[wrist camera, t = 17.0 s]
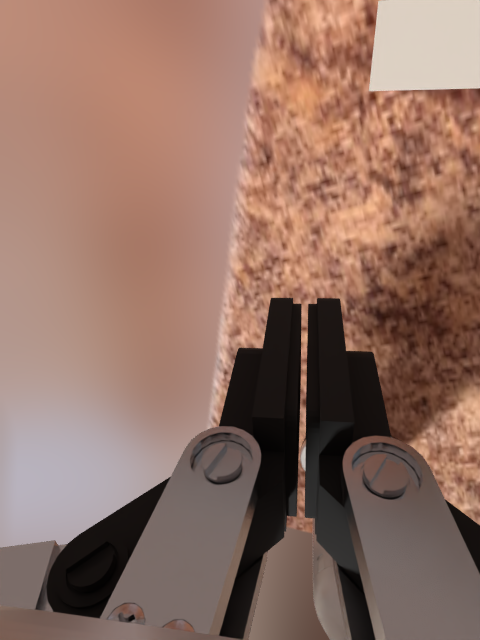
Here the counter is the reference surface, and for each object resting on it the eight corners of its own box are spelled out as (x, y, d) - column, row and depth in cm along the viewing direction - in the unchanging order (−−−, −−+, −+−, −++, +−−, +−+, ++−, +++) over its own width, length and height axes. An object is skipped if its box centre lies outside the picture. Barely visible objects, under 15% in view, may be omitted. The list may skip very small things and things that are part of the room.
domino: (381, 2, 27) (562, -16, 23) (372, 88, 29) (532, 84, 26) (378, 0, 25) (568, -19, 22) (368, 91, 28) (536, 86, 25)
